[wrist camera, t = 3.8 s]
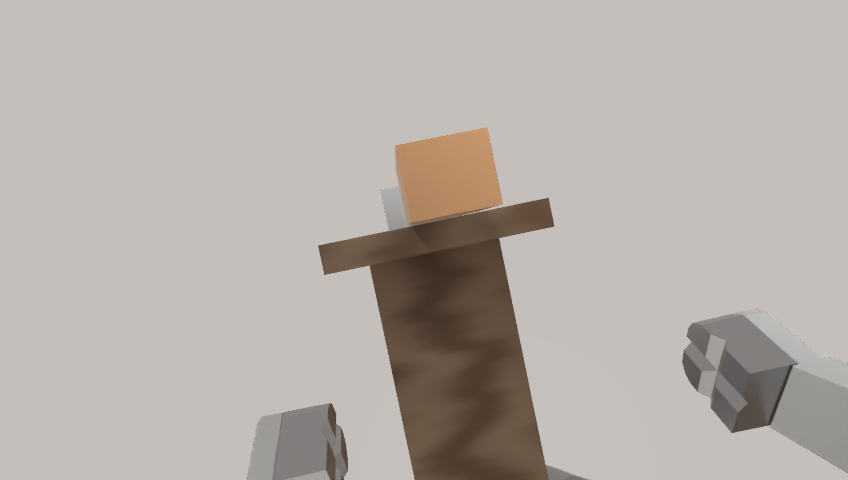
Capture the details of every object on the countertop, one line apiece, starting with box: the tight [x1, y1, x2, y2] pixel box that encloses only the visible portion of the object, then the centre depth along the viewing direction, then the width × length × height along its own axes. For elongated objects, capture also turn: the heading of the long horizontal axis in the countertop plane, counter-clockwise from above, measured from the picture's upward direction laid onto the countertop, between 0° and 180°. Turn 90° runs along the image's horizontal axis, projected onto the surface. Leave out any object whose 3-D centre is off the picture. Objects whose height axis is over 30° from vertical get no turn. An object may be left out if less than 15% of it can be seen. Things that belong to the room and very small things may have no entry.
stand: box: [318, 198, 554, 480], centre depth 31 cm, size 12×14×26 cm
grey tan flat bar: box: [381, 128, 503, 231], centre depth 27 cm, size 5×23×3 cm, turn 3°
